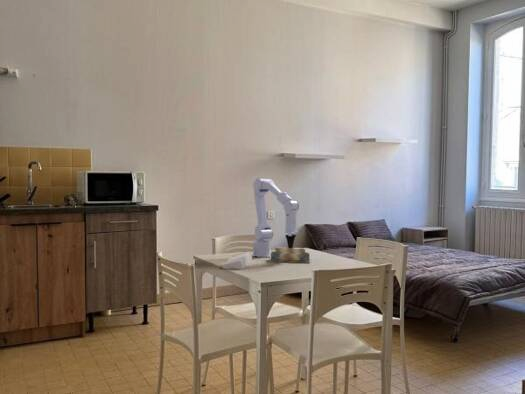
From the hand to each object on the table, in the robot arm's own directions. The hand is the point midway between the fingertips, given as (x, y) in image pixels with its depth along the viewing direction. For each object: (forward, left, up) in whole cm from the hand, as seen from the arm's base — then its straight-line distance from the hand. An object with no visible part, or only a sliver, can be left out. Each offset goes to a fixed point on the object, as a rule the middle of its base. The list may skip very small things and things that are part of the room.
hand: (290, 248), depth 274 cm
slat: (0, 0, -6) cm, 6 cm away
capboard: (0, 0, -7) cm, 7 cm away
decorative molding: (-26, -14, -8) cm, 31 cm away
